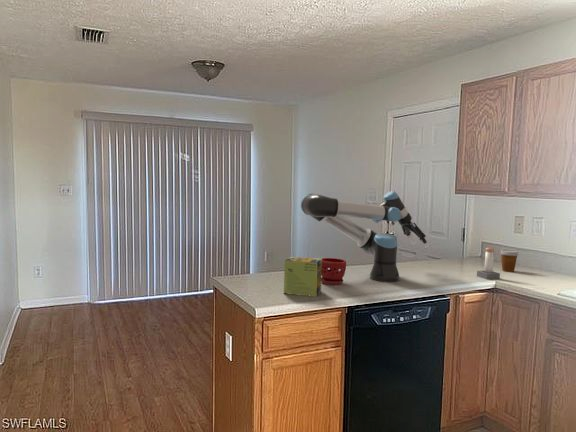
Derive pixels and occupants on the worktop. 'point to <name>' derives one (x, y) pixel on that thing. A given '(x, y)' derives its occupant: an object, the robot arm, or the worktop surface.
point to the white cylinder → (489, 260)
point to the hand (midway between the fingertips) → (421, 245)
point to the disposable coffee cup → (508, 260)
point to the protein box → (302, 276)
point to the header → (488, 275)
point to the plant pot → (332, 271)
